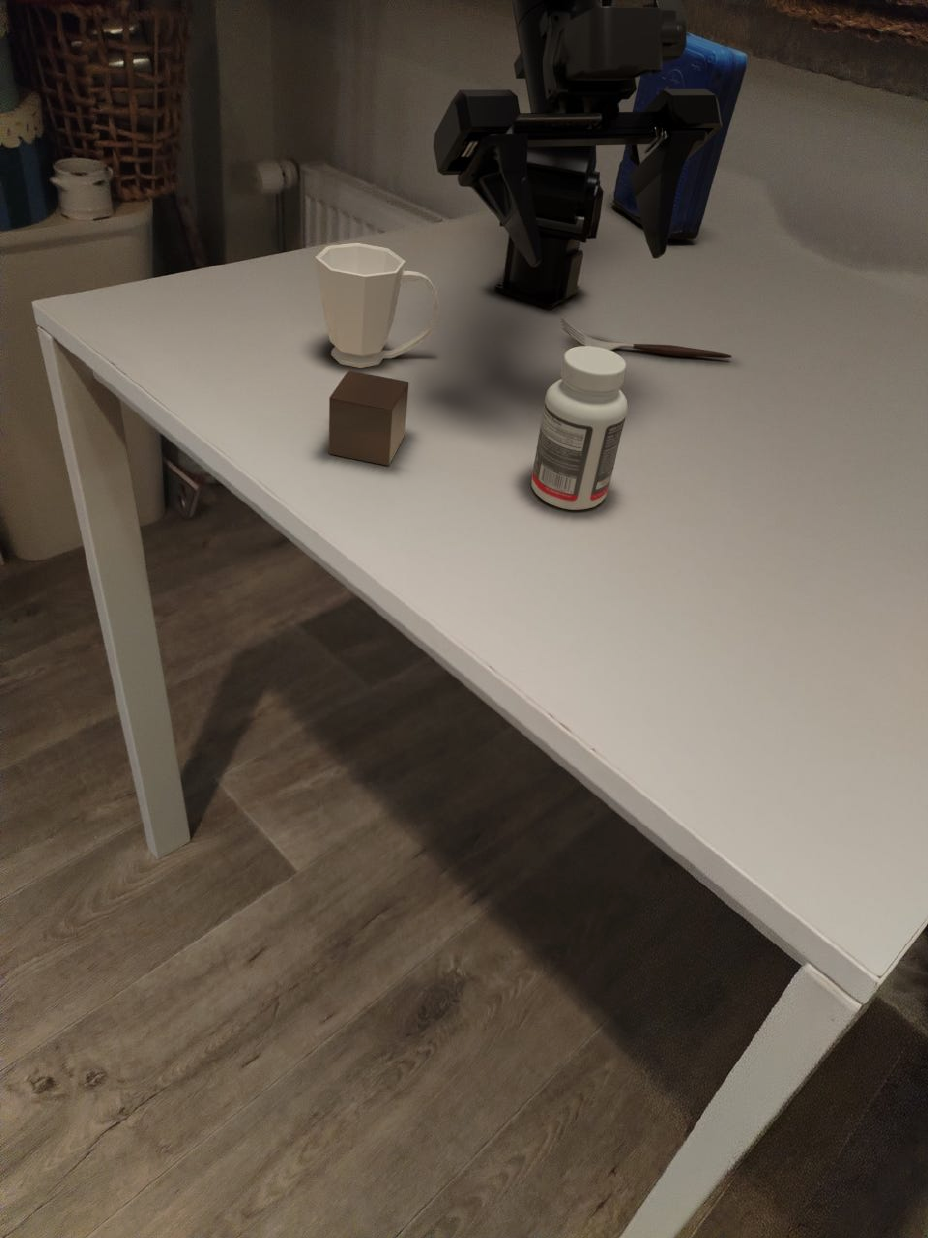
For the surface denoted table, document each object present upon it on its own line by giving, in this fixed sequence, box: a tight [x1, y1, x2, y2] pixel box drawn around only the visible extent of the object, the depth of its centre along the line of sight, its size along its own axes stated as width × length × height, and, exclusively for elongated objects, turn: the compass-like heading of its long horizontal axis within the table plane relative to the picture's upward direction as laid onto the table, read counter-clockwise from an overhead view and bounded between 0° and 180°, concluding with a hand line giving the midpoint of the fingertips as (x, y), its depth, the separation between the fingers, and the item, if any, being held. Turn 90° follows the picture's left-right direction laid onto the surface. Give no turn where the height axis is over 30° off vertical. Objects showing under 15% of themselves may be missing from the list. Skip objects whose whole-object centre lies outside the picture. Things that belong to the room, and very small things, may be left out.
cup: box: [315, 242, 440, 369], centre depth 73 cm, size 7×10×8 cm
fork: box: [560, 316, 732, 359], centre depth 82 cm, size 3×16×2 cm, turn 89°
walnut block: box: [328, 369, 409, 467], centre depth 63 cm, size 4×4×4 cm
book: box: [612, 31, 749, 240], centre depth 104 cm, size 14×5×20 cm, turn 23°
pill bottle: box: [531, 345, 628, 511], centre depth 60 cm, size 5×5×10 cm
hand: (599, 260), depth 60 cm, fingers open, 9 cm apart
